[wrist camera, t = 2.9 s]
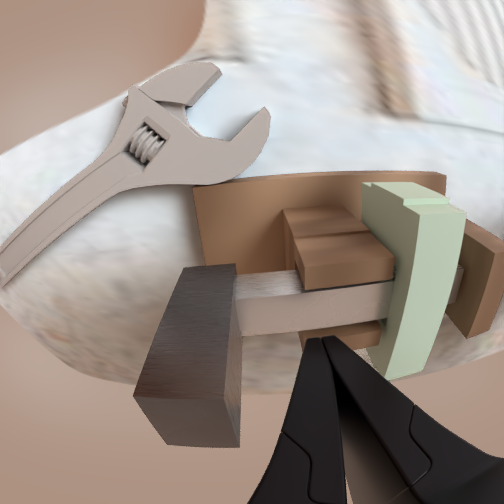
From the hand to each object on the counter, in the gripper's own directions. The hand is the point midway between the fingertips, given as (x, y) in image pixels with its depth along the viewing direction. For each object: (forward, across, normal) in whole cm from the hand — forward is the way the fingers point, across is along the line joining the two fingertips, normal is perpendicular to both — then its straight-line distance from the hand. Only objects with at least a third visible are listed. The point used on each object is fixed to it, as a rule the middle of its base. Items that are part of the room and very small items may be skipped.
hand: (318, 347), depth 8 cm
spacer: (+5, -4, 0) cm, 7 cm away
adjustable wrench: (+9, +13, -4) cm, 16 cm away
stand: (+8, -3, 0) cm, 9 cm away
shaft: (+3, -1, 0) cm, 4 cm away
